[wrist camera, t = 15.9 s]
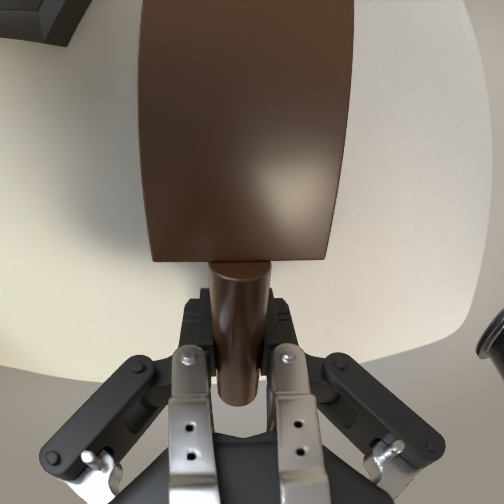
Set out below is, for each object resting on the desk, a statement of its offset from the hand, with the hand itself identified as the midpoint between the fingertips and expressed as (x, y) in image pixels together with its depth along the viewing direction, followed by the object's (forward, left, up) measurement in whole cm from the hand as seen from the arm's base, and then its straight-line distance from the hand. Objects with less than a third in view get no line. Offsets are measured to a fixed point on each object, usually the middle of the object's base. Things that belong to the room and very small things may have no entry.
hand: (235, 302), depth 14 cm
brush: (0, -5, 0) cm, 5 cm away
